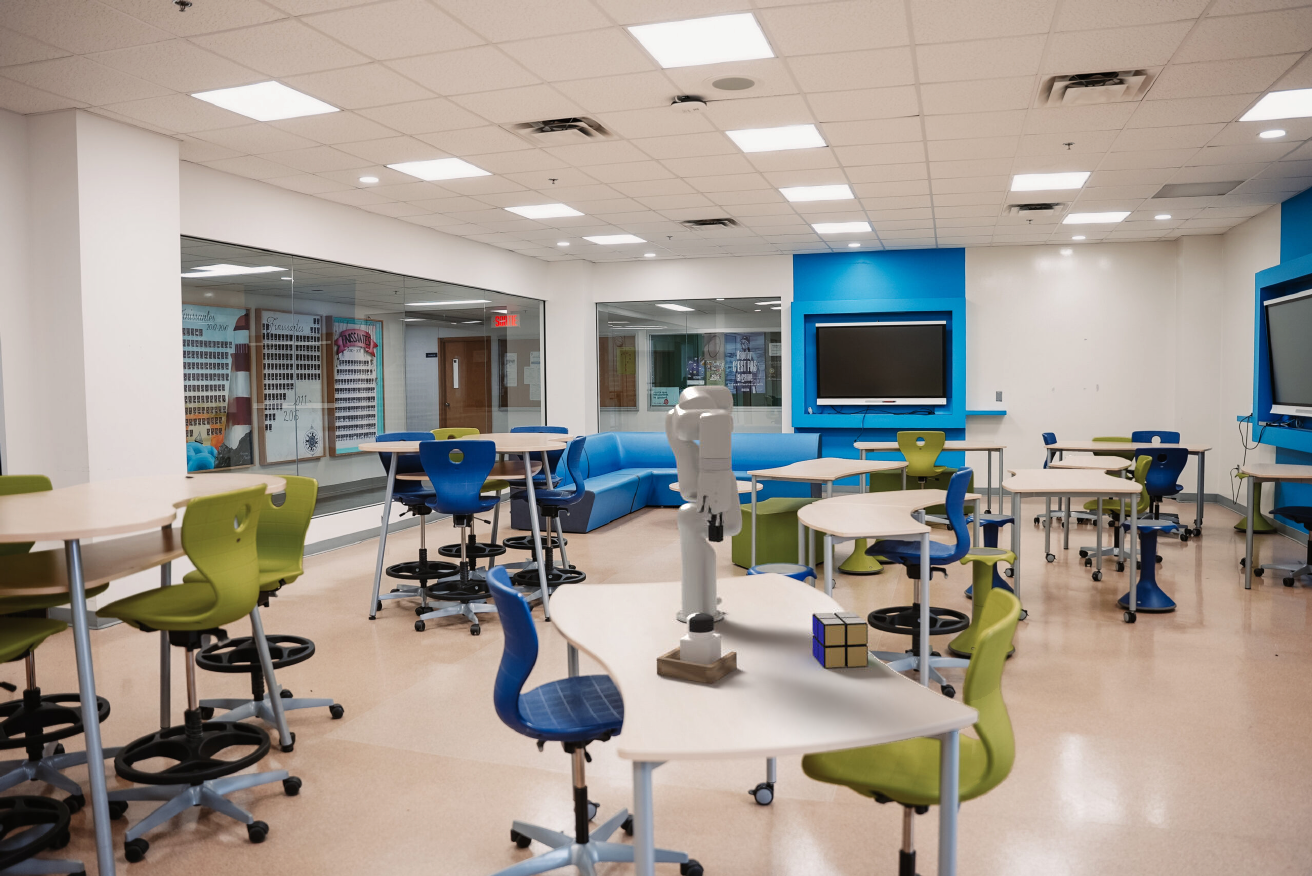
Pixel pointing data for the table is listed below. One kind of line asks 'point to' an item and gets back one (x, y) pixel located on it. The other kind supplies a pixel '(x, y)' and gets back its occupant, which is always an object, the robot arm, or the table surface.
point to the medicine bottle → (700, 640)
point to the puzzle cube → (840, 640)
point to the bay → (695, 667)
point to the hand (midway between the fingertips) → (715, 540)
